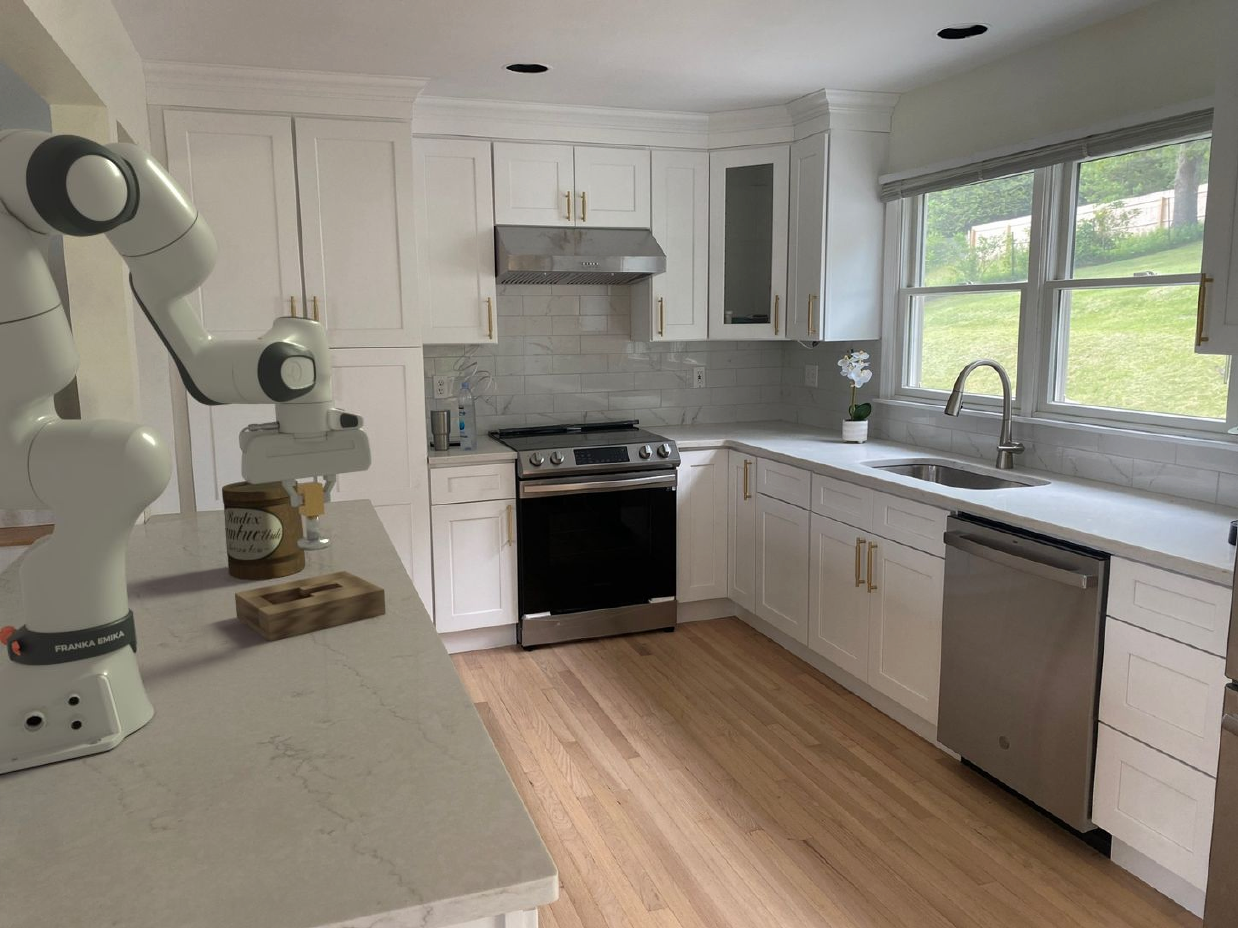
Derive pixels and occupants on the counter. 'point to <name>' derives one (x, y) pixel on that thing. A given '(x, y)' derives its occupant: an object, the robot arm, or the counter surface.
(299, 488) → the keyhole peg
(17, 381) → the robot arm
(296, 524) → the wooden container
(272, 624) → the keyhole plate
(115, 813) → the counter surface
